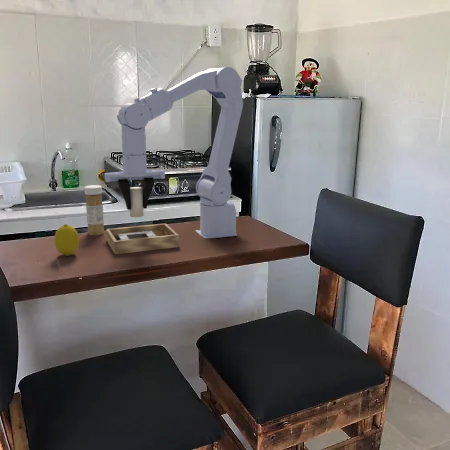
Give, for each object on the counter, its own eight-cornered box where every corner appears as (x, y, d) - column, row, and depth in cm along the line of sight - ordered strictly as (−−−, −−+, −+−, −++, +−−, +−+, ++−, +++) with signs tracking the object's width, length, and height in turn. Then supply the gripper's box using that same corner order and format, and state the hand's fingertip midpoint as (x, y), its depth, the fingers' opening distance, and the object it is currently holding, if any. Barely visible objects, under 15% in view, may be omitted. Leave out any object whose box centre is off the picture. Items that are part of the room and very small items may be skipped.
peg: (142, 213, 129) (141, 186, 127) (144, 216, 126) (143, 189, 124) (129, 214, 128) (127, 187, 127) (130, 217, 125) (129, 189, 123)
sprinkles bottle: (100, 231, 142) (97, 184, 138) (107, 234, 139) (104, 186, 135) (84, 233, 139) (81, 185, 136) (92, 237, 136) (88, 188, 132)
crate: (166, 235, 138) (165, 223, 137) (179, 248, 127) (178, 234, 126) (106, 242, 132) (106, 229, 131) (115, 255, 121) (114, 241, 120)
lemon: (54, 254, 122) (52, 222, 120) (78, 251, 124) (76, 220, 122) (57, 261, 117) (54, 228, 115) (81, 258, 119) (79, 225, 117)
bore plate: (151, 237, 135) (151, 230, 134) (160, 247, 127) (159, 239, 126) (117, 241, 131) (117, 233, 131) (124, 251, 123) (123, 243, 123)
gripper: (159, 151, 129) (160, 202, 133) (101, 153, 124) (104, 207, 127) (166, 154, 123) (168, 208, 126) (106, 156, 118) (109, 213, 121)
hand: (136, 208), depth 126 cm, fingers closed on peg, 3 cm apart
